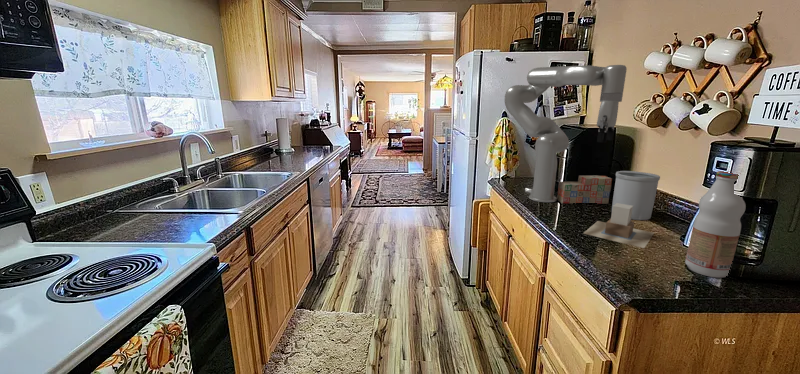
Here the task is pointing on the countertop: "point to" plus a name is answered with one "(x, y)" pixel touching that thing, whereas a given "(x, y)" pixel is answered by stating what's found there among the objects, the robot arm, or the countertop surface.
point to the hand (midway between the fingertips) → (604, 141)
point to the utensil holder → (636, 192)
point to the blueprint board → (635, 239)
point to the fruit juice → (716, 228)
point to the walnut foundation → (619, 229)
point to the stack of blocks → (585, 190)
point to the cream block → (621, 214)
